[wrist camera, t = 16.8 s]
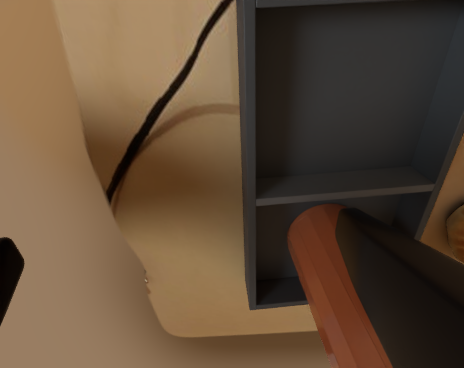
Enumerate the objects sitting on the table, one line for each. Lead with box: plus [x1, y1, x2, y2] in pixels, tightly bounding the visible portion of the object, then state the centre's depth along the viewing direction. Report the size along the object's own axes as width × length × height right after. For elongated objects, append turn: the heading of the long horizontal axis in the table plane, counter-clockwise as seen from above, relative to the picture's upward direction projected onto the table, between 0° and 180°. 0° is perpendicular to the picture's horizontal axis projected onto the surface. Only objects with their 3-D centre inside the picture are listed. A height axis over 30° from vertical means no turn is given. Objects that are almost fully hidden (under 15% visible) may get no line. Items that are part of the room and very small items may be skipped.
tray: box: [236, 0, 464, 310], centre depth 21 cm, size 14×24×3 cm, turn 3°
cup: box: [287, 203, 393, 368], centre depth 19 cm, size 6×6×13 cm
